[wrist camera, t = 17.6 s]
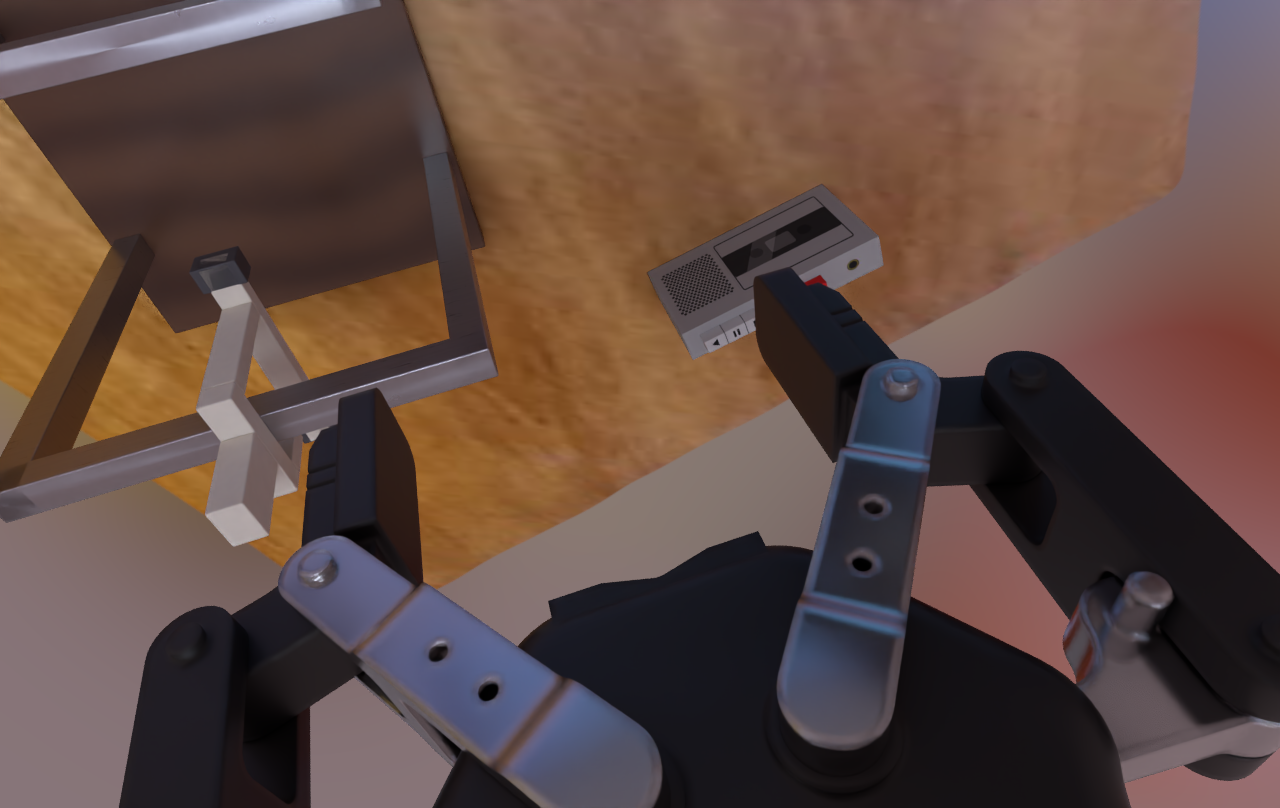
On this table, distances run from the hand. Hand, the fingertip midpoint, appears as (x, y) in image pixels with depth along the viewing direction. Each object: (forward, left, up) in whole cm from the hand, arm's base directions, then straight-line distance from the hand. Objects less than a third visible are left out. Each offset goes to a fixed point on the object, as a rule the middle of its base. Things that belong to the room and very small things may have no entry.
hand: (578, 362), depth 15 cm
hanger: (+11, -13, -22) cm, 28 cm away
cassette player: (+23, +17, -38) cm, 48 cm away
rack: (+4, -14, -38) cm, 41 cm away
